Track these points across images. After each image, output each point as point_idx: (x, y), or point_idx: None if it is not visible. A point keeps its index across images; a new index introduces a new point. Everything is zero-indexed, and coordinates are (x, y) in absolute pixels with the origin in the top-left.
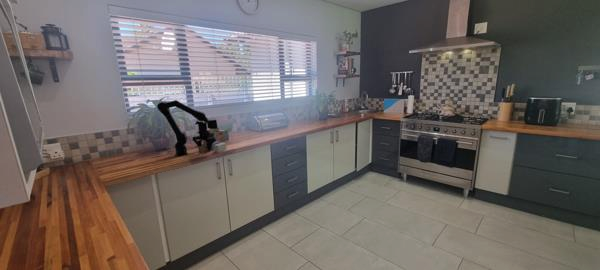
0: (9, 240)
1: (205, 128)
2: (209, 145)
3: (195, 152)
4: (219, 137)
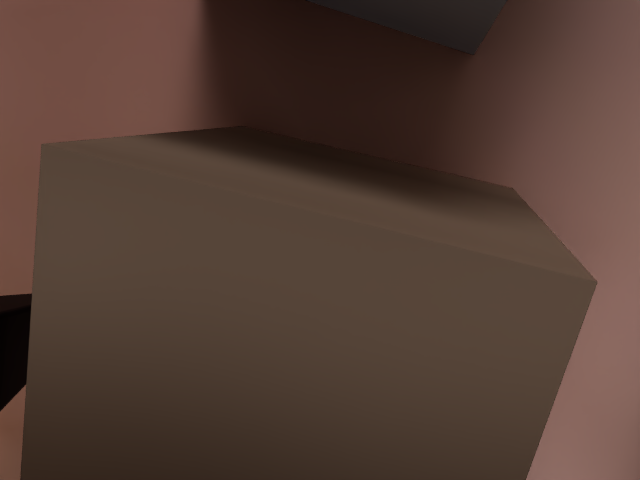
0: None
1: None
2: None
3: (8, 435)
4: None
